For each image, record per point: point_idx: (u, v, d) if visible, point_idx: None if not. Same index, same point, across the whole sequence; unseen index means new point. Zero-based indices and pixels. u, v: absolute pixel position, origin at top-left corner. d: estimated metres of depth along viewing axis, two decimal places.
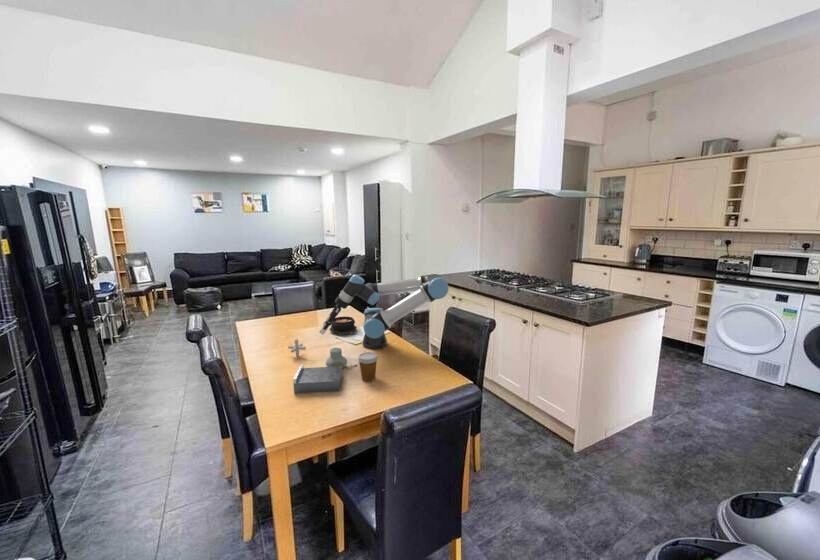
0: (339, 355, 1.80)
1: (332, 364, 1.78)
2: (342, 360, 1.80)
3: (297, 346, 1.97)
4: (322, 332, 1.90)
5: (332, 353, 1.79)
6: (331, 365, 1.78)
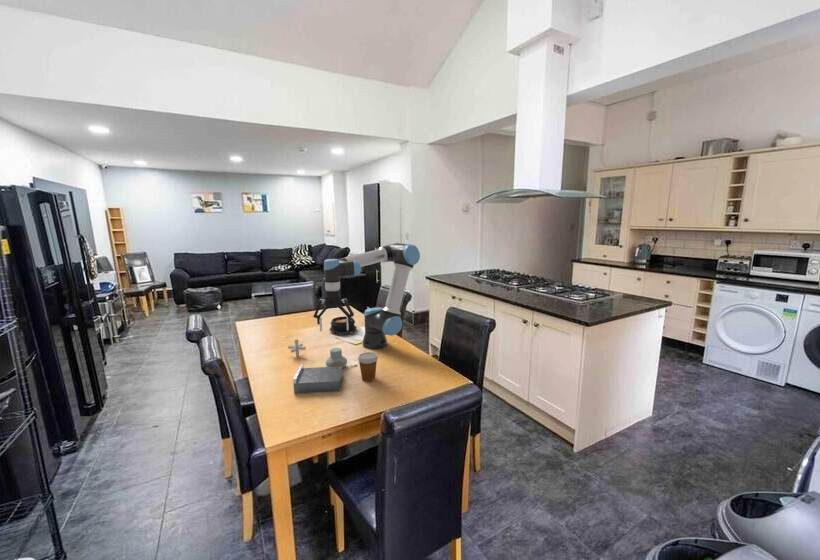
0: (339, 355, 1.80)
1: (332, 364, 1.78)
2: (342, 360, 1.80)
3: (297, 346, 1.97)
4: (348, 327, 1.80)
5: (332, 353, 1.79)
6: (331, 365, 1.78)
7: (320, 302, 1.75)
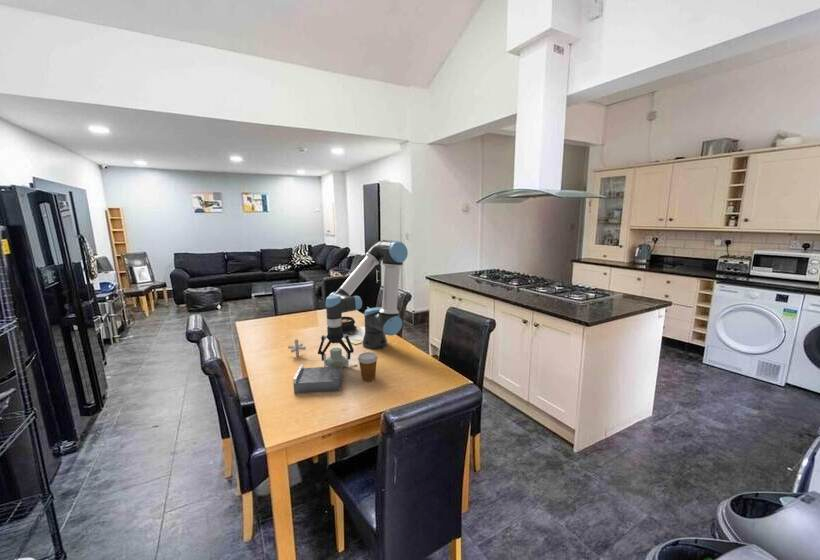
0: (339, 355, 1.80)
1: (332, 364, 1.78)
2: (342, 360, 1.80)
3: (297, 346, 1.97)
4: (348, 363, 1.84)
5: (332, 353, 1.79)
6: (331, 365, 1.78)
7: (322, 338, 1.79)
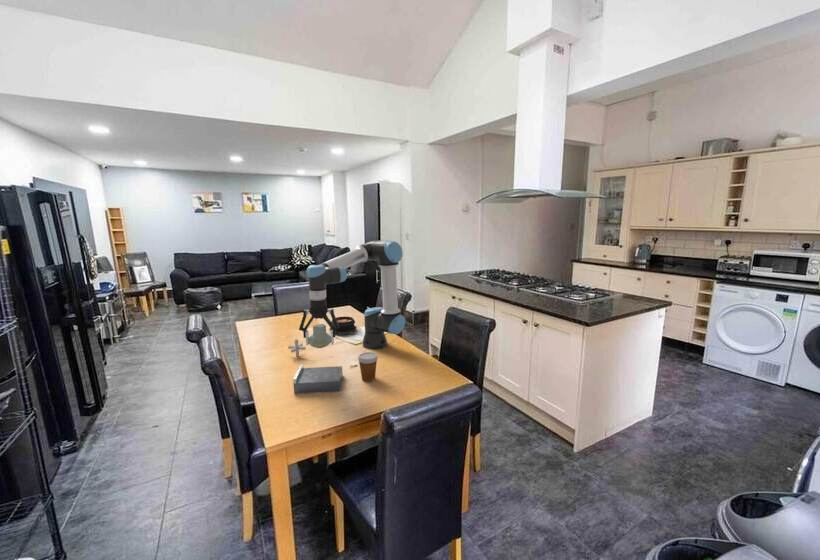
0: (323, 332, 1.62)
1: (315, 341, 1.60)
2: (326, 337, 1.62)
3: (297, 346, 1.97)
4: (333, 341, 1.66)
5: (315, 329, 1.61)
6: (313, 342, 1.60)
7: (304, 313, 1.61)
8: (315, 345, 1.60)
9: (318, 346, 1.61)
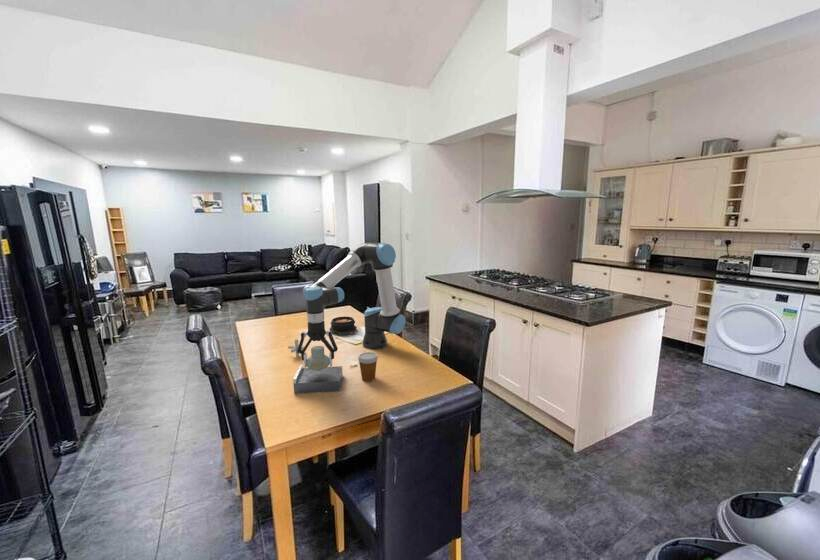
0: (321, 354, 1.60)
1: (313, 364, 1.58)
2: (324, 360, 1.60)
3: (297, 346, 1.97)
4: (331, 363, 1.64)
5: (313, 352, 1.59)
6: (312, 365, 1.58)
7: (302, 336, 1.59)
8: (313, 368, 1.59)
9: (316, 368, 1.59)
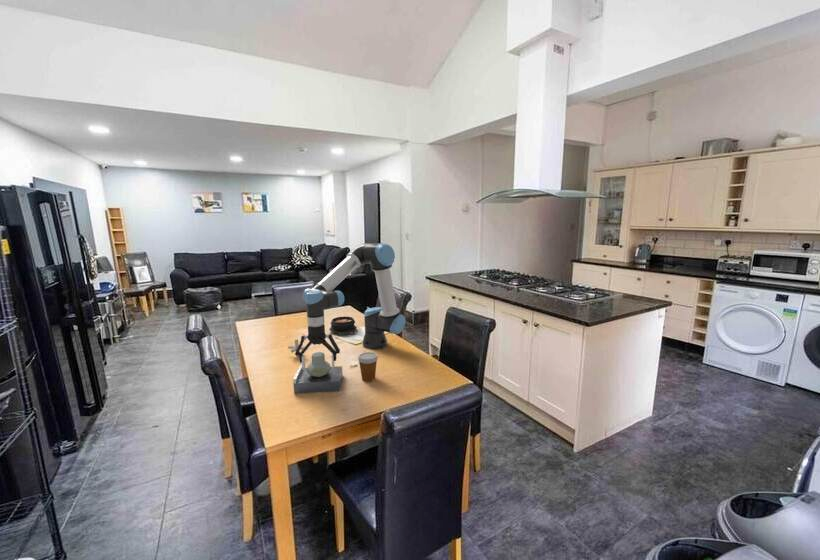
0: (321, 360, 1.61)
1: (313, 371, 1.59)
2: (325, 366, 1.61)
3: (297, 346, 1.97)
4: None
5: (314, 358, 1.60)
6: (312, 372, 1.59)
7: (302, 338, 1.59)
8: (314, 374, 1.59)
9: (317, 375, 1.60)
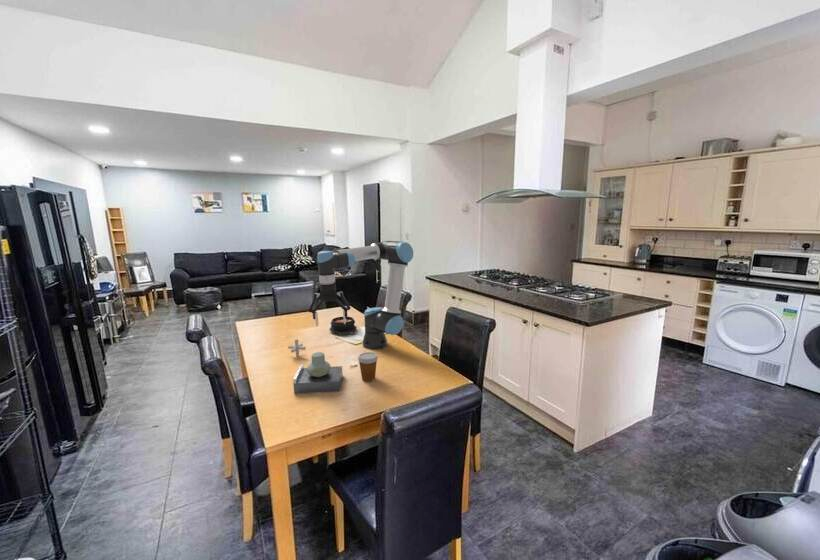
0: (321, 360, 1.61)
1: (313, 371, 1.59)
2: (325, 366, 1.61)
3: (297, 346, 1.97)
4: (345, 321, 1.75)
5: (313, 358, 1.60)
6: (312, 372, 1.59)
7: (315, 296, 1.69)
8: (314, 374, 1.59)
9: (317, 375, 1.60)
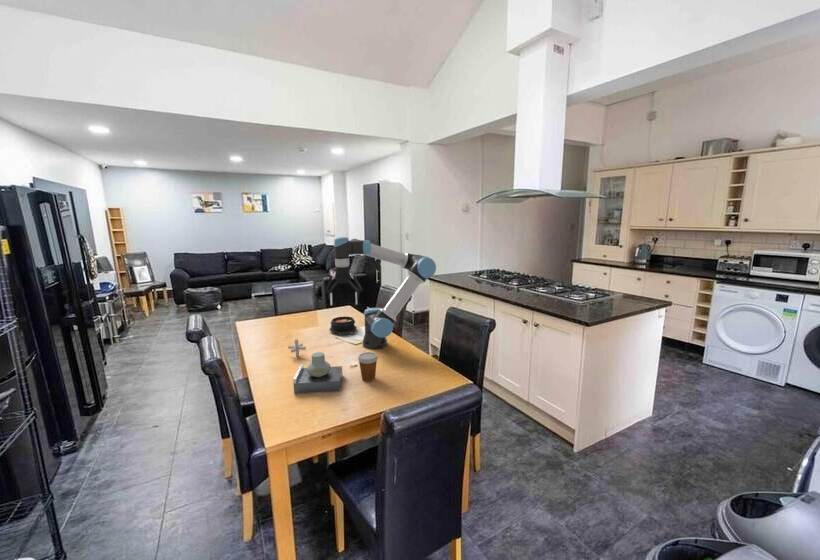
0: (321, 360, 1.61)
1: (313, 371, 1.59)
2: (325, 366, 1.61)
3: (297, 346, 1.97)
4: None
5: (313, 358, 1.60)
6: (312, 372, 1.59)
7: (331, 278, 1.86)
8: (314, 374, 1.59)
9: (317, 375, 1.60)
